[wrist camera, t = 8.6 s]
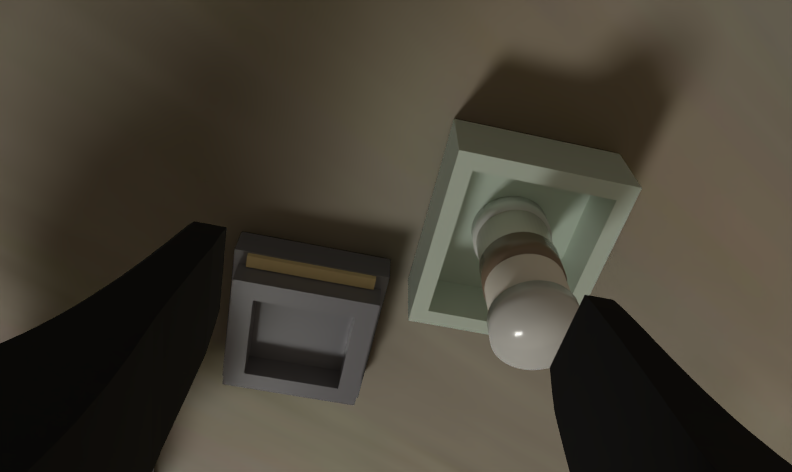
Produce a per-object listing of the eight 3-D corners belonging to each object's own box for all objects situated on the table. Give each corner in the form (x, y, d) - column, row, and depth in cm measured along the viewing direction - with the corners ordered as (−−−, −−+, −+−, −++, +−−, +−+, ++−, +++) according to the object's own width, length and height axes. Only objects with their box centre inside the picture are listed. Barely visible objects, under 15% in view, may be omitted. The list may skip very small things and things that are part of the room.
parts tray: (551, 305, 26) (563, 347, 24) (408, 279, 25) (408, 320, 23) (619, 153, 22) (642, 188, 20) (454, 118, 21) (459, 150, 19)
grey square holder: (359, 377, 28) (356, 415, 26) (229, 355, 28) (216, 393, 26) (390, 259, 25) (389, 293, 23) (242, 231, 24) (228, 265, 22)
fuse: (530, 267, 24) (563, 377, 19) (461, 251, 24) (476, 359, 19) (559, 206, 23) (602, 309, 18) (486, 187, 22) (509, 288, 17)
